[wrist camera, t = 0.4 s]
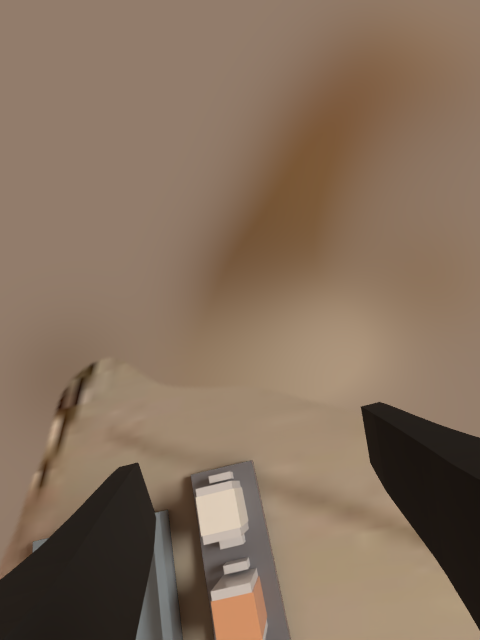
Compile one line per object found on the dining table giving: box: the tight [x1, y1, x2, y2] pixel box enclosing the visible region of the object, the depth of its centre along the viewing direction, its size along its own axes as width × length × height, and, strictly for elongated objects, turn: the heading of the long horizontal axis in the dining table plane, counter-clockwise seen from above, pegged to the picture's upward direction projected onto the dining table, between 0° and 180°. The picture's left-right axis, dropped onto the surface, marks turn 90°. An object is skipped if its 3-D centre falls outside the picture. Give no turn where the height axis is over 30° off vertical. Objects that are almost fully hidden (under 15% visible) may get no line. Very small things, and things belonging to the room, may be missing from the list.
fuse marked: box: [211, 568, 268, 640], centre depth 28 cm, size 4×3×5 cm
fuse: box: [196, 481, 249, 545], centre depth 31 cm, size 4×3×5 cm
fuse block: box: [191, 460, 291, 640], centre depth 30 cm, size 21×6×3 cm, turn 12°
